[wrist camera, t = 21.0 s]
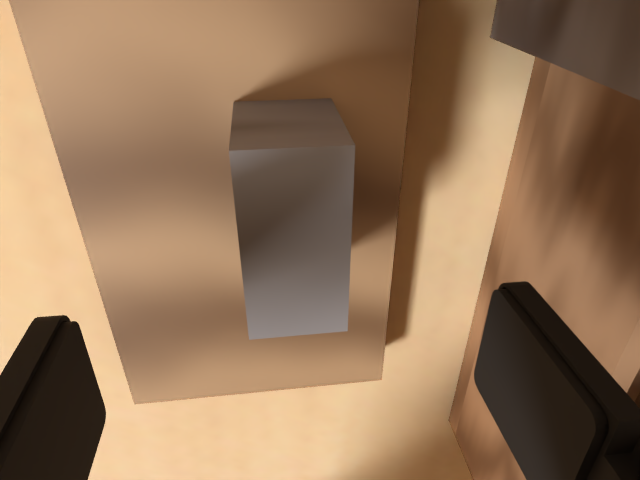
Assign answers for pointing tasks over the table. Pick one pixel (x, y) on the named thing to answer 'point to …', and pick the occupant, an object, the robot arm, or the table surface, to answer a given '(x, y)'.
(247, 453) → the table surface
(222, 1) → the lid
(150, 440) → the table surface
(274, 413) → the table surface
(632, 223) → the toolbox
